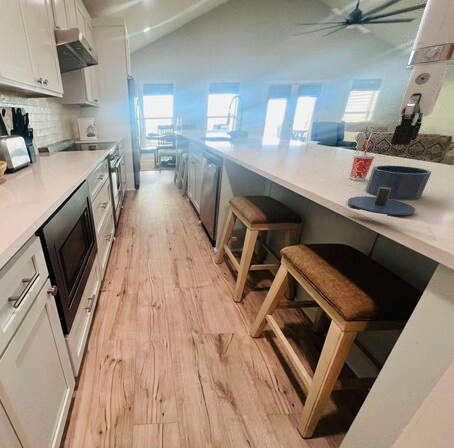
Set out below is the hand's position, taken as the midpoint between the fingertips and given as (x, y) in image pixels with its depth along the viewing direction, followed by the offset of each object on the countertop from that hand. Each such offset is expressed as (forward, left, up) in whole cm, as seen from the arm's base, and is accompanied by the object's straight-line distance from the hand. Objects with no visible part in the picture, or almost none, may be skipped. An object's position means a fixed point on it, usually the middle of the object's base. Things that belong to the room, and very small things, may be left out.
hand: (403, 142), depth 59 cm
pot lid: (0, +1, -16) cm, 16 cm away
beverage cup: (+12, -31, -17) cm, 38 cm away
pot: (0, -17, -17) cm, 24 cm away
